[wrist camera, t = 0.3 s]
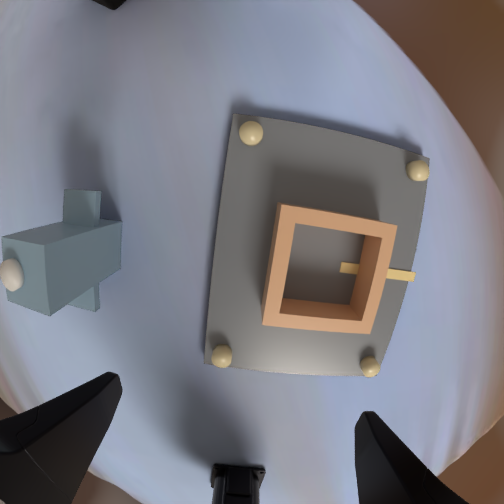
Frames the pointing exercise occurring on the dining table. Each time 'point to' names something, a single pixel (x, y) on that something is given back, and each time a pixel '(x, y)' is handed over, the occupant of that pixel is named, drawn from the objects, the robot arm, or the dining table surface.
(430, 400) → the dining table surface
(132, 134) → the dining table surface
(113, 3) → the battery
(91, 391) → the robot arm
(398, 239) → the chassis plate
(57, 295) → the block
